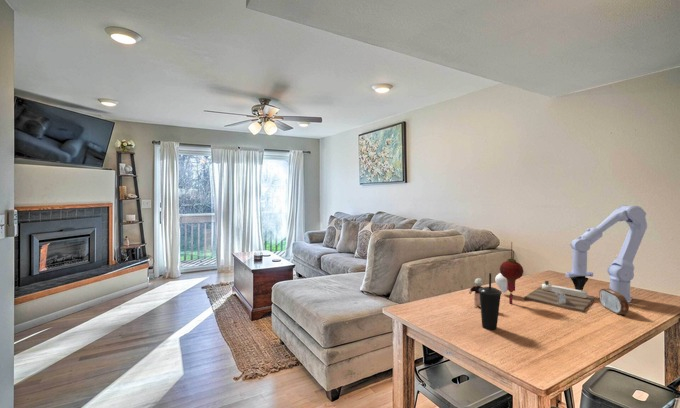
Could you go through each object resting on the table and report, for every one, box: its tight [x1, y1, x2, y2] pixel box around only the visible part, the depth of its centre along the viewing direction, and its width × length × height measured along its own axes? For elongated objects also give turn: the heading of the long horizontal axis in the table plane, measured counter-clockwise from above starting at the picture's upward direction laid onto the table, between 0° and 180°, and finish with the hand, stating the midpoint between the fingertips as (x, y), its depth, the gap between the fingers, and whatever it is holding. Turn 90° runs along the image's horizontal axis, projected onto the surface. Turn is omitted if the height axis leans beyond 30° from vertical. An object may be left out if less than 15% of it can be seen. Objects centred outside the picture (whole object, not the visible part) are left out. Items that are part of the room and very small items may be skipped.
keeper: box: [551, 288, 566, 305], centre depth 141 cm, size 10×2×4 cm, turn 162°
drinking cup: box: [479, 272, 503, 331], centre depth 114 cm, size 8×8×20 cm
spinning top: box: [494, 272, 508, 295], centre depth 152 cm, size 8×8×12 cm
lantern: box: [499, 243, 524, 305], centre depth 139 cm, size 10×10×30 cm
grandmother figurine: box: [468, 277, 484, 309], centre depth 136 cm, size 8×4×13 cm, turn 71°
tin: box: [598, 287, 630, 316], centre depth 132 cm, size 15×3×8 cm, turn 168°
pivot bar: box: [541, 283, 588, 298], centre depth 151 cm, size 18×4×2 cm, turn 42°
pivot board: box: [523, 280, 595, 313], centre depth 146 cm, size 26×22×6 cm
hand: (578, 291), depth 151 cm, fingers closed
